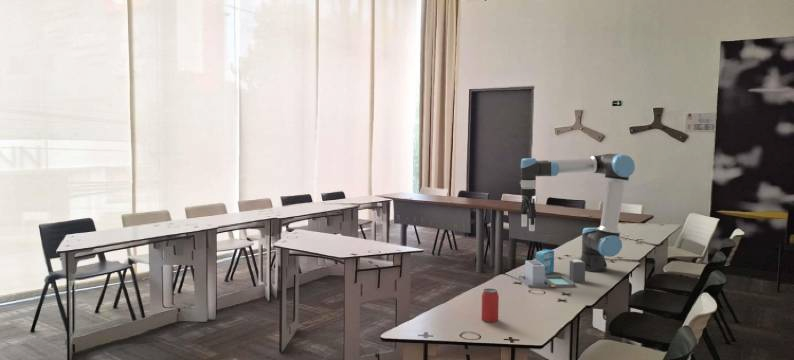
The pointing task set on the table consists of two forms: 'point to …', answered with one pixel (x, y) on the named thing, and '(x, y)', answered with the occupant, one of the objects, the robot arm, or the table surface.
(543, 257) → the data package
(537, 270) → the block
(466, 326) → the table surface
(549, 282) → the grey flat panel
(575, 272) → the plug
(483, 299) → the beer can
